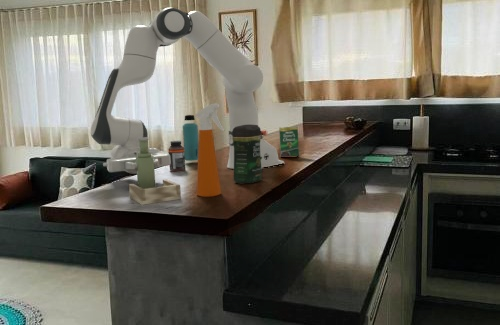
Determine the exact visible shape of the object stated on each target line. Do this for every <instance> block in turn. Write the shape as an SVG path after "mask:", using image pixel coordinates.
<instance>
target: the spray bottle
mask: <svg viewBox="0 0 500 325" xmlns="http://www.w3.org/2000/svg"><path fill="white" fill-rule="evenodd" d="M220 107H221V106H220V103H211V104H208V105H206V106H205V107H203V108H202V109H199V110H198V111H197V113H196V114H195V117H196V118H198V119H199V123H198V125H199V126H198V127H199V128H198V139H199V149H198V160H197V175H196V176H197V180H196V181H197V182H196V195H197V196H198V197H203V198H205V197H206V198H210V197H216V196H220V195H221V194H222V191H221V184H220V176H219V169H218V161H217V156H216V155H217V154H216V149H215V148H216V147H215V142H214V134H213V126H212V125H213V124H212V122H211V120H212V121H213V122H214V124H215V125H216V126H217V128H218V129H220V131H222V132H225V129H224V126H223V125H222V124H221V122H220V119H219V116H218V113H219V112H218V109H219V108H220Z"/></svg>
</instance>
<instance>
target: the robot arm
mask: <svg viewBox="0 0 500 325" xmlns="http://www.w3.org/2000/svg"><path fill="white" fill-rule="evenodd" d="M180 39H184V40H186V41H187V42H189V43H190V44H191V45H192V46H193V48H194V49H195V50H196V51H197V52H198V54H199V55H200V56H201V57H202V58H203V59H204V60H205V61H206V62H207V63H208V64H209V66H210V67H212V68H213V69H215V71H217V72H218V73H219V74H220V75H221V76H222V84H223V86H224V87H223V88H224V92H225V98H226V102H227V109H228V121H229V122H228V124H229V130H228V144H229V155H228V162H227V166H226V167H227V168H228V169H233V170H234V144H233V139H232V137H233V136H232V133H233V129H234V128H235V127H237V126H241V125H258V126H259V111H258V107H257V104H256V100H255V97H254V92H255V91H257V90H258V89H260V87H261V86H262V84H263V81H264V75H263V71H262V70H261V68H260V67H258V66H257V65H255V64H254V63H253V62H252V61H251V60H250V59H249V58H248V57H246V56H245V54H243V53H242V52H241V51H240V50H238V49H237V47H235V46H234V45H233V43H231V41H229V39H228V38H227V37H226V36H225V35H224V33H222V31H221V30H220V29H219V28H218V27H217V25H216V24H215V23H214V22H213V21H212V20H210V19H209V18H208V17H207V16H206V15H205V14H204V13H203V12H201V11H199V10H193V11H190V12H188V13H187V12H185V11H183V10H181V9H178V8H176V7H166V8H164V9H161V11H160V12H158V13H157V14H156V15H155V16H154V18H153V19H152V20H151V21H150V23H149V25H147V26H146V25H143V24H142V25H141V24H140V25H135V26H132V27H131V28H130V30H129V32H128V34H127V38H126V41H125V45H124V50H123V56H122V60H121V63H120V64H119V65H118V67H114V68H113V69H112V70H111V72H110V74H109V75H108V78H107V81H106V84H105V87H104V90H103V93H102V96H101V99H100V102H99V106H98V108H97V111H96V113H95V116H94V118H93V121H92V123H91V126H90V136H91V138H92V140H94V141H95V142H96V143H97V144H98V145H111V146H112V145H113V146H114V147H113V148H112V149H111V152H110V158H107V159H106V162H103V163H102V165H103V167H106V168H107V169H106V170H107V171H108V172H109V173H119V172H126V173H129V174H132V175H137V169H138V167H137V166H138V165H137V163H136V157H138V153H140V144H139V139H138V138H140V137H148V138H149V136H148V134H149V133H148V129H147V127H146V125H145V124H144V122H143V121H142V120H141V119H140V120H139V119H134V118H129V117H128V118H127V117H121V116H120V117H119V116H116V115H112V111H113V108H114V104H115V102H116V99H117V95H118V93H119V91H120V90H122V89H123V88H126V87H129V86H135V85H140V84H143V83H145V82H147V81H149V80H150V79H151V78H152V77H153V75H154V74H155V68H156V62H157V53H158V49H159V47H169V46H171V45H173V44H175V43H177V42H178V41H179V40H180ZM260 132H261V139H260V156H261V168H262V167H267V166H272V165H278V164H282V163H284V164H285V161H284V160H282V159H279V155H278V154H279V153H278V150H277V148H276V147H275V146H273V145H272V144H270V143H269V142H268V141H266V140H265V139H264V137H263V136H265V137H267V130H265V129H264V130H263V129H262V130H261V129H260ZM148 149H149V152H151V156H154V169H156V168H157V169H158V168H159V167H160V168H161V167H168V166H169V167H170V164H171V159H170V155H169V152H166V151H161V150H159V149H158V148H154V147H153V148H149V147H148ZM262 169H263V168H262Z"/></svg>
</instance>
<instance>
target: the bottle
mask: <svg viewBox="0 0 500 325" xmlns="http://www.w3.org/2000/svg"><path fill="white" fill-rule="evenodd" d="M138 139H139V144H140V153H138V157H136V163H137V165H138V166H137V167H138V169H137V174H136V179H137V186H139V187H140V188H142V189H148V188H155V187H157V186H156V173H155V168H154V156H151V152H149V149H148V148H149V136H148V137H140V138H138Z"/></svg>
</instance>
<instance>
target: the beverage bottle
mask: <svg viewBox="0 0 500 325" xmlns="http://www.w3.org/2000/svg"><path fill="white" fill-rule="evenodd" d="M184 121H195V115H194V114H186V115H184ZM198 125H199V124H197V123H195V122H186V123H184V124H183V125H182V136H183V145H182V146H183V147H184V153H185V161H190V162H191V161H198V149H199V128H198V127H199V126H198Z"/></svg>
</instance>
